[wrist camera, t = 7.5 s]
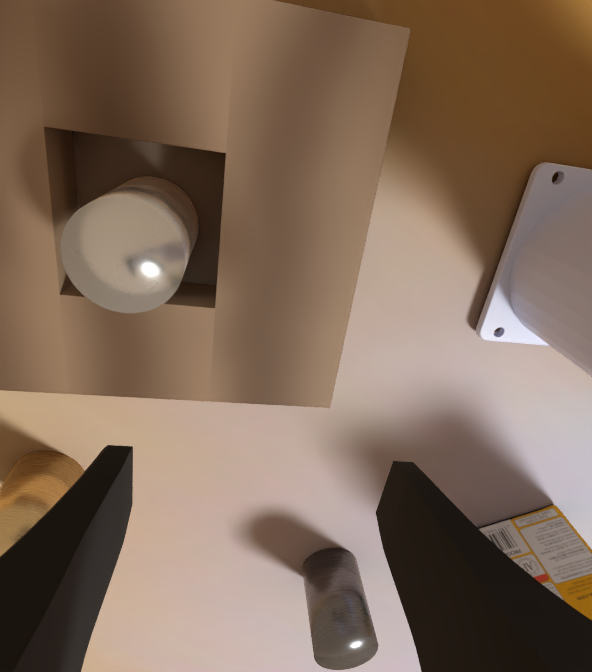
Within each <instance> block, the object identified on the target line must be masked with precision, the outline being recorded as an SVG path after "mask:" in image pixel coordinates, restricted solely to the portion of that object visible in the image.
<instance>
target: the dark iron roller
mask: <svg viewBox="0 0 592 672" xmlns="http://www.w3.org/2000/svg"><path fill="white" fill-rule="evenodd" d="M303 578H304V585H305V593H306V600H307V607H308V615H309V622H310V629H311V637H312V644H313V652H314V658H315V661H316V662H317V663H318V664H319V665H320V666H322V667H324V668H327V669H332V670H344V669H350V668H354V667H357V666H359V665H362V664H364V663H365V662H367V661H368V660H370V659H371V658H372V657H373V656H374V655H375V654H376V652H377V649H378V642H377V638H376V634H375V631H374V627H373V623H372V619H371V615H370V611H369V608H368V604H367V600H366V596H365V592H364V588H363V584H362V581H361V577H360V573H359V569H358V565H357V561H356V558H355V556H354V555H353V554H352V553H351V552H349V551H347V550H345V549H341V548H328V549H323V550H320V551H318V552H316V553H314V554H312V555H311V556H310V557H309V558H308V559H307V560H306V561H305V563H304V565H303Z"/></svg>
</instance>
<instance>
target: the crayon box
mask: <svg viewBox="0 0 592 672" xmlns="http://www.w3.org/2000/svg"><path fill="white" fill-rule="evenodd" d="M479 530H480V531H481V532H482V533H483V534H484V535H485V536H486V537H487V538H489V539H490V540H491V541H492V542H493V543H494V544H495V545H496V546H497V547H498V548H499V549H500V550H502V551H503V552H504V553H505V554H506V555H507V556H508V557H510V558H511V559H512V560H513V561H514V562H515V563H517V564H518V565H519V566H520V567H521V568H523V569H524V570H525V571H526V572H528V573H529V574H530V575H531V576H532V577H534V578H535V579H536V580H537V581H539V582H540V583H541V584H542V585H544V586H545V587H546V588H548V589H549V590H550V591H552V592H553V593H554V594H555V595H557V596H558V597H560V598H561V599H562V600H564V601H565V602H567V603H568V604H569V605H571V606H572V607H573V608H575V609H576V610H578V611H579V612H580V613H582V614H583V615H585V616H586V617H588V618H589V619H591V620H592V550H591V548H590V547H589V546H588V545H587V543H586V542H585V541H584V540H583V538H582V537H581V536H580V535H579V534H578V532H577V531H576V530H575V528H574V527H573V526H572V525H571V524H570V522H569V521H568V520H567V518H566V517H565V516H564V515H563V513H562V512H561V511H560V510H559V509H558V507H556V506H555V505H550V506H547V507H545V508H544V509H541V510H538V511H535V512H532V513H529V514H525V515H522V516H519V517H516V518H513V519H509V520H506V521H503V522H499V523H496V524H493V525H490V526H487V527H483V528H480V529H479Z"/></svg>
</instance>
